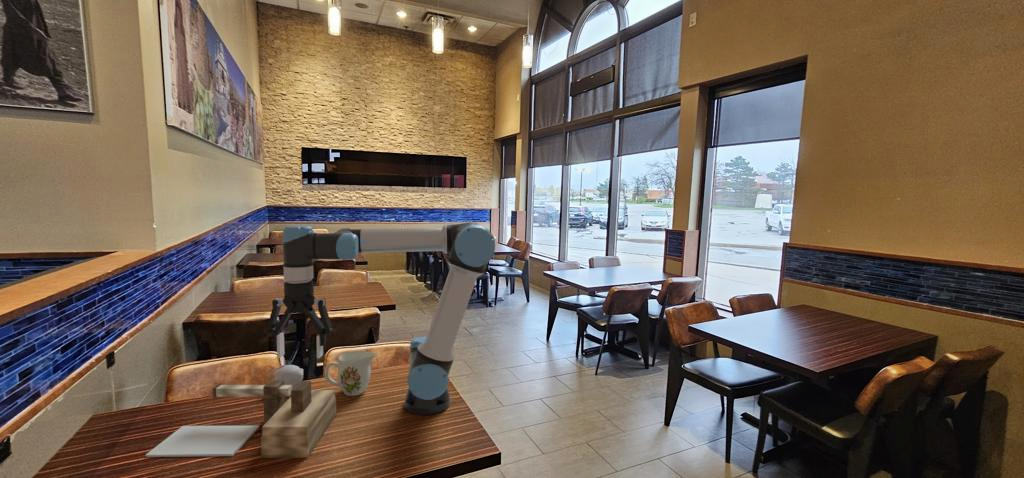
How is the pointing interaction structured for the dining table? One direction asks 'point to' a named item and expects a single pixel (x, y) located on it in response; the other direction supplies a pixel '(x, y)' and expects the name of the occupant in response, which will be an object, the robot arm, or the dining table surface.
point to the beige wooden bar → (247, 390)
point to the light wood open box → (290, 444)
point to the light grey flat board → (204, 441)
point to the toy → (289, 374)
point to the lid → (299, 411)
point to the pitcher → (352, 372)
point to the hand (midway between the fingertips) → (300, 356)
